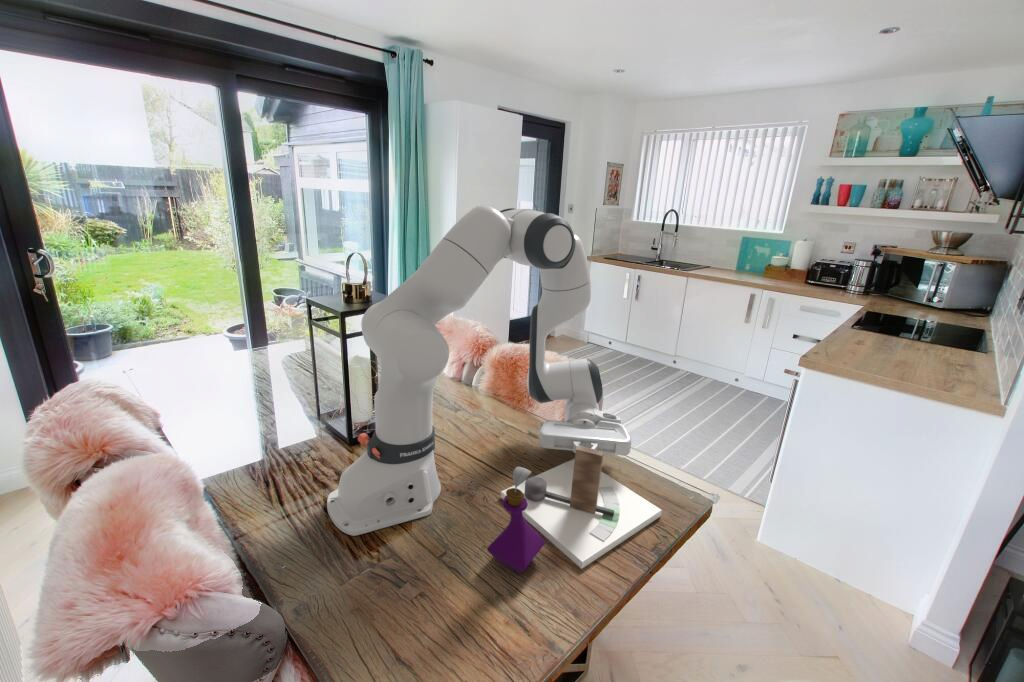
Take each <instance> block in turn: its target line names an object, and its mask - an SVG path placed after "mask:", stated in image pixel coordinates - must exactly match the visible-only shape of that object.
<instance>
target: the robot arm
mask: <svg viewBox="0 0 1024 682" xmlns="http://www.w3.org/2000/svg"><path fill="white" fill-rule="evenodd" d="M503 259H509V260H511V261H512V262H513V261H514V262H515V263H517V264H520V265H523V266H529V267H535V268H537V269H538V270H539V275H540V276H539V277H540V283H541V295H540V299H539V301H538V303H537V304H536V305H534V306H532V310H531V312H530V313H531V314H530V324H529V354H528V355H529V357H528V359H529V360H528V362H529V363H528V365H529V366H528V370H527V377H526V389H527V392H528V395H529V397H530V398H532V399H533V400H534V401H535V402H538V403H539V404H544V403H545V404H546V403H551V402H554V401H564V400H565V401H564V420H553V419H549V420H546V421H544V422H540V423H539V426H538V429H539V431H540V433H539V446H540V448H543V449H550V450H551V449H552V450H562V451H572V452H573V453H574V454H575V452H576V448H577V446H583V447H587V448H591V449H595V450H599V451H603V452H604V453H603V455H613V456H614V455H615V456H623V457H624V456H628V455H629V454H630V453H631V448H632V439H631V438H632V437H631V436H630V432H629V431H628V429H627V427H626V426H625V425H623V424H622V418H621V417H620V416H618V415H614V414H611V413H606V412H604V411H601V410H600V407H599V403H600V401H601V400H602V397H603V393H604V391H603V383H602V379H601V374H600V370H599V366H598V365H597V364H596V363H595V362H594V361H593V360H591V359H589V358H577V359H570V360H564V361H554V362H553V361H552V362H548V361H546V345H547V344H546V341H547V338H548V336H549V335H550V333H552V332H553V331H554V330H556V329H557V328H560V327H561V326H564V325H566V324H568V323H571V322H572V321H575V319H577V318H579V316H581V315H582V314H583V313H584V312H585V311H586V309H587V308H588V306H589V305H590V303H591V298H592V296H591V295H592V294H591V293H592V284H591V274H590V268H589V263H588V257H587V253H586V250H585V248H584V244H583V241H582V240H581V237H579V236H578V235H577V234H575V233H574V230H573V228H572V226H571V224H570V223H569V222H568V221H567V220H566V219H564V218H562V217H561V216H559V215H557V214H555V213H551V212H543V211H538V210H535V209H531V208H514V207H513V208H512V207H511V208H509V207H508V208H505V209H501V210H498V209H497V208H495V207H493V206H489V205H485V204H482V205H481V204H480V205H477V206H475V207H472V209H470V210H469V211H468V212H467V213H466V214H464V215H463V217H461V218H460V219H459V220H458V221H457V222H455V224H453V226H452V227H451V228H450V229H449V230H448V231H447V232H446V234H445V235H444V236H443V237H442V239H441V240H440V241H439V243H438V244H437V245H436V246H435V247H434V248H433V250H432V251H431V252H430V253H429V255H428V256H427V257H426V259H424V261H423V262H422V263H421V265H420V266H419V267H418V268H417V270H415V271H414V272H413V273H412V274H411V275H410V276H409V277H408V278H407V279H406V280H404V281H403V282H402V283H401V284H400V285H399V286H398V287H396V289H395V290H393V291H392V292H390V293H389V294H388V295H387V296H386V297H384V299H382V300H381V301H378V302H376V303H374V304H372V305H371V306H370V307H368V308H367V309H366V311H365V312H364V314H363V316H362V319H361V323H360V326H361V332H362V337H363V340H364V342H365V344H366V345H367V347H368V348H369V349H370V351H372V352H373V354H375V356H376V357H377V360H378V362H379V367H380V377H379V384H378V390H377V391H376V392H375V394H374V396H373V400H374V401H373V402H374V421H375V430H374V432H373V434H372V436H371V437H370V436H369V435H368V434H367V433H365V432H363V433H359V436H358V437H357V441H358V442H359V443H360V445H361V446H363V447H366V451H365V452H364V453H362V455H360V457H358V458H357V460H355V461H354V462H352V464H350V466H348V467H347V468H346V469H345V470H344V471H343V472H342V474H340V479H339V483H338V488H337V489H335V490H333V491H331V492H330V493H329V494H328V496H327V499H326V508H327V509H326V510H327V513H328V516H329V518H330V520H331V521H332V523H333V524H334V525H335V527H337V528H338V529H339V530H340V531H341V532H343V534H344V533H345V534H346V535H349V536H352V537H353V536H354V537H355V536H359V535H363V534H368V533H370V532H374V531H378V530H381V529H384V528H388V527H391V526H396V525H398V524H402V523H405V522H410V521H413V520H416V519H419V518H423V517H426V516H430V514H432V512H433V507H434V503H435V501H436V500H437V499H438V498H439V496H440V494H441V490H442V485H441V481H440V479H439V475H438V472H437V467H436V461H435V452H434V451H435V448H436V435H435V434H436V433H435V431H436V430H435V426H434V425H433V420H434V419H433V409H434V408H433V405H434V403H433V401H434V392H435V386H436V382H437V379H438V377H439V376H440V375H441V374H442V373H443V371H444V370H445V368H446V367H447V364H448V362H449V360H450V359H449V357H450V349H449V344H448V342H447V340H446V338H445V336H444V335H443V334H442V332H441V331H440V329H439V328H438V327H437V326H436V324H437V325H438V323H439V322H441V320H443V319H445V318H446V317H447V316H448V315H450V314H452V313H454V312H456V311H460V310H461V309H463V308H464V307H465V306H466V305H467V303H469V301H470V300H471V299H472V297H473V296H474V295H475V293H476V292H477V291H478V289H479V288H480V287H481V286H482V285H483V283H484V281H485V280H486V279H487V278H488V276H489V275H490V274H491V272H492V271H493V270H494V268H495V266H496V265H497V264H498V263H499V262H500V261H501V260H503Z"/></svg>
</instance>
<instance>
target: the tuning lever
mask: <svg viewBox="0 0 1024 682" xmlns="http://www.w3.org/2000/svg"><path fill="white" fill-rule="evenodd" d="M603 453H604V452H603V451H599V450H595V449H591V448H587V447H583V446H577V448H576V452H575V453H574V458H575V462H574V471H573V480H572V490H571V498H568V497H565V496H561V495H558V494H554V493H551V492H547V491H546V489H547V483H546V481H545V480H544V479H542V478H540V477H534V476H531V477H527V478H526V481H525V496H526V497H527V498H528V499H529V500H532V501H540V500H543V499H544V498H545V497H547V498H551V499H554V500H558V501H561V502H564V503H568V504H570V507H573V508H576V509H580V510H583V511H587V512H590V513H593V514H595V511H596V512H599V513H603V514H606V515H610V516H614V510H611V509H607V508H604V507H600V506H597V500H598V492H599V484H600V476H601V471H602V469H603V461H604V460H603V459H604V454H603Z"/></svg>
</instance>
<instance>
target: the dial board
mask: <svg viewBox="0 0 1024 682" xmlns="http://www.w3.org/2000/svg"><path fill="white" fill-rule="evenodd" d="M574 462H575V457H574V458H572V459H569V460H568V461H566V462H563V463H561V464H559V465H557V466H555V467H553V468H550V469H548V470H546V471H543V472H541V473H538V474H537V475H534V476H533V477H540V478H542V479H544V480H545V481H546V483H547V489H546V491H547V492H551V493H554V494H558V495H561V496H565V497H568V498H571V490H572V480H573V471H574ZM526 480H527V479H526ZM526 480H525V481H526ZM525 481H524V482H523V483H522V484H520V485H519V486H517V489H519V490H520V491H522V492H523V494H524V498H526V500H527V504H528V506H527V507H526V509H525V510H524V511H522V514H523V517H524V519H525V521H526V522H527V523H529V524H530V526H533V527H534V528H535V529H536V530H537V531H538V532H540V534H541V535H543V536H544V537H545V538H546V539H547V540H548V541H549V542H550V543H551V544H553V545H554V546H555V547H556V548H557V549H559V551H560V552H562V553H563V554H564V555H565V556H567V558H568V559H570V560H571V561H572V562H573V563H575V565H576V566H578V567H579V568H580V569H581V570H582V569H584V568H585V567H587V566H588V565H590V564H591V563H593V562H594V561H596V560H597V559H598V558H600V557H602V556H603V555H605V554H606V553H608V552H609V551H611V550H613V549H614V548H616V547H617V546H618V545H620V544H622V543H623V542H624V541H626V540H627V539H629V538H631V537H632V536H634V535H635V534H636V533H638V532H639V531H641V530H642V529H644V528H645V527H647V526H649V525H650V524H651V523H653V522H655V521H656V520H657V519H659V518H660V517H661V516H662V513H663V512H662V511H663V509H660V507H658V506H656V505H655V504H653V503H651V502H650V501H649V500H647V499H645V498H644V497H642V496H641V495H639V494H637V493H636V492H635V491H633V490H631V489H630V488H628V487H627V486H625V485H623V484H622V483H621V482H619V481H617V480H616V479H614V478H612V477H611V476H609V475H608V474H606V473H604V472H603V471H602V470H601V476H600V484H599V492H598V500H597V506H600V507H604V508H607V509H611V510H614V516H610V515H606V514H603V513H599V512H596V511H595V514H593V513H590V512H587V511H583V510H580V509H576V508H573V507H570V504H568V503H564V502H561V501H558V500H554V499H551V498H547V497H545V498H544V499H543V500H540V501H532V500H529V499H528V498H527V497H526V496H525ZM511 488H515V484H514V485H512V486H510V487H508V488H506V489H504V490H501V491H500V498H501V499H502V500H503V499H504V498H505V496H507V495H506V491H507V490H508V489H511Z"/></svg>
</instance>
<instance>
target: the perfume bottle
mask: <svg viewBox="0 0 1024 682" xmlns="http://www.w3.org/2000/svg"><path fill="white" fill-rule="evenodd" d="M531 474H532V471H531V470H529V469H527V468H525V467H521V466H516V467H515V468H514V470H513V472H512V481H513V483H514V485H515V488H511V489H508V490H507V491H506V495H507V496H505V498H504V499H502V506H503V509H504V510H506V511H507V512H510V521H509V522H508V524H507V526H506V527H505V528H504V529H503V530H502V531H501V532H500V534H499V535H498V536H496V538H495V539H494V540H493V541H491V543H490V545H488V547H487V548H486V550H487V552H488V553H489V554H490V555H491V556H492V557H493V558H494V559H495V560H497V562H498V563H499V564H501V565H502V566H505V567H506V568H508V569H510V570H512V571H514V572H516V573H517V574H521V573H522V572H524V571H525V570H526V569H527V568H528V567H529V565H530V564H531V563H532V561H533V560H534V558H535V557H536V556H537V555H538V554H539V552H540V551H541V549H542V548H543V547H544V546H545V544H546V543H547V541H546V539H544V538H543V537H542V536H541V535H540V534H539V533H538V532H537V531H536V530H535V529H534V528H533V527H532V526H531V525H529V524H528V521H527V520H526V519H525V518H524V517H523V514H522V511H524V510H525V509H526V507H527V506H528V504H527V500H526V498H524V494H523V492H522V491H520V490H519V489H517V486H519V485H520V484H522V483H523V482H524V481H525V480H527V479H528V478H529V476H530V475H531Z"/></svg>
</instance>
